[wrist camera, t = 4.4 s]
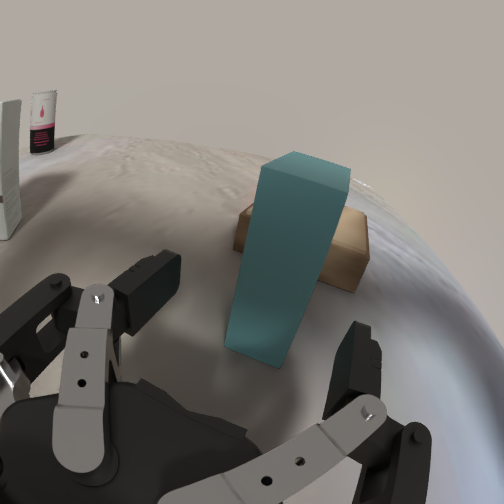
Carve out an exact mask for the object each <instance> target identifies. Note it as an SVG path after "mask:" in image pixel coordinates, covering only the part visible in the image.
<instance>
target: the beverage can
mask: <svg viewBox="0 0 504 504" xmlns="http://www.w3.org/2000/svg"><path fill="white" fill-rule="evenodd" d="M56 97H57V92H56V90H55V91H45V92H38V93H33V96H32V102H31V121H30V153H31V154H32V155H42V154H46V153H50V152H52V151H53V149H54V129H55V111H56V110H55V109H56Z"/></svg>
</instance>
